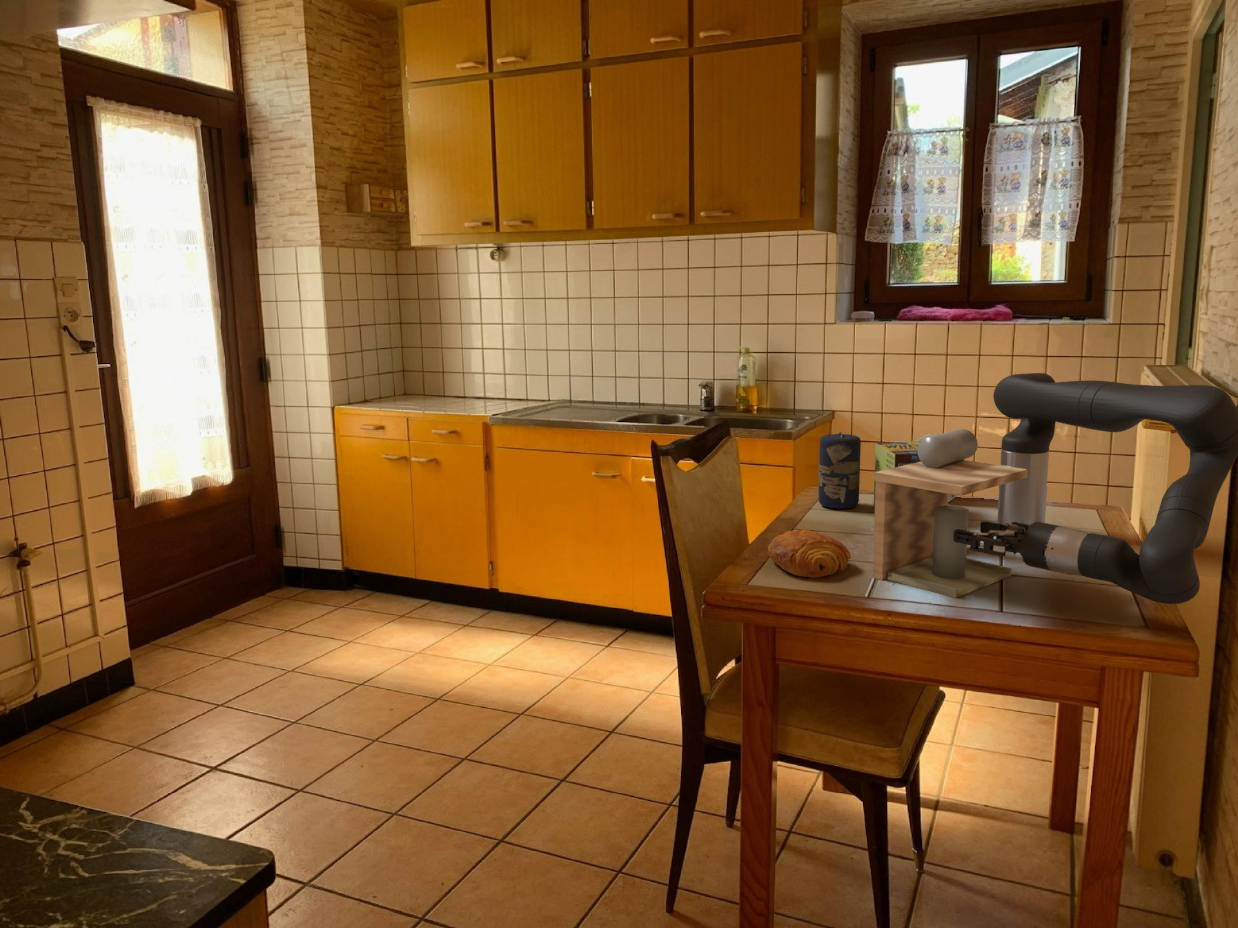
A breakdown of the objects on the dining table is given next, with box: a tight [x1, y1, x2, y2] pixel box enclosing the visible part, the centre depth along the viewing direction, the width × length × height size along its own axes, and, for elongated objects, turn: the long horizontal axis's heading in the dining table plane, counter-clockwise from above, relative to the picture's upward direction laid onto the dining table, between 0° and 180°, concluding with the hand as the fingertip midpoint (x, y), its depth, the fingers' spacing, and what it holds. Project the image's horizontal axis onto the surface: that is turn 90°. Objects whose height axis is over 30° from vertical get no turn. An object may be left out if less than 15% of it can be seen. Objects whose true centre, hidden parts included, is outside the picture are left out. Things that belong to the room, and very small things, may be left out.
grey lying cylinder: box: [918, 428, 979, 468], centre depth 172 cm, size 6×6×12 cm
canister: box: [817, 431, 862, 509], centre depth 222 cm, size 10×10×18 cm
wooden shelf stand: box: [872, 459, 1027, 598], centre depth 168 cm, size 21×17×20 cm
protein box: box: [873, 442, 920, 508], centre depth 214 cm, size 10×15×16 cm
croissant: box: [767, 528, 852, 579], centre depth 176 cm, size 14×16×8 cm
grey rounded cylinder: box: [932, 504, 969, 579], centre depth 168 cm, size 6×6×12 cm
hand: (968, 530), depth 165 cm, fingers open, 8 cm apart
